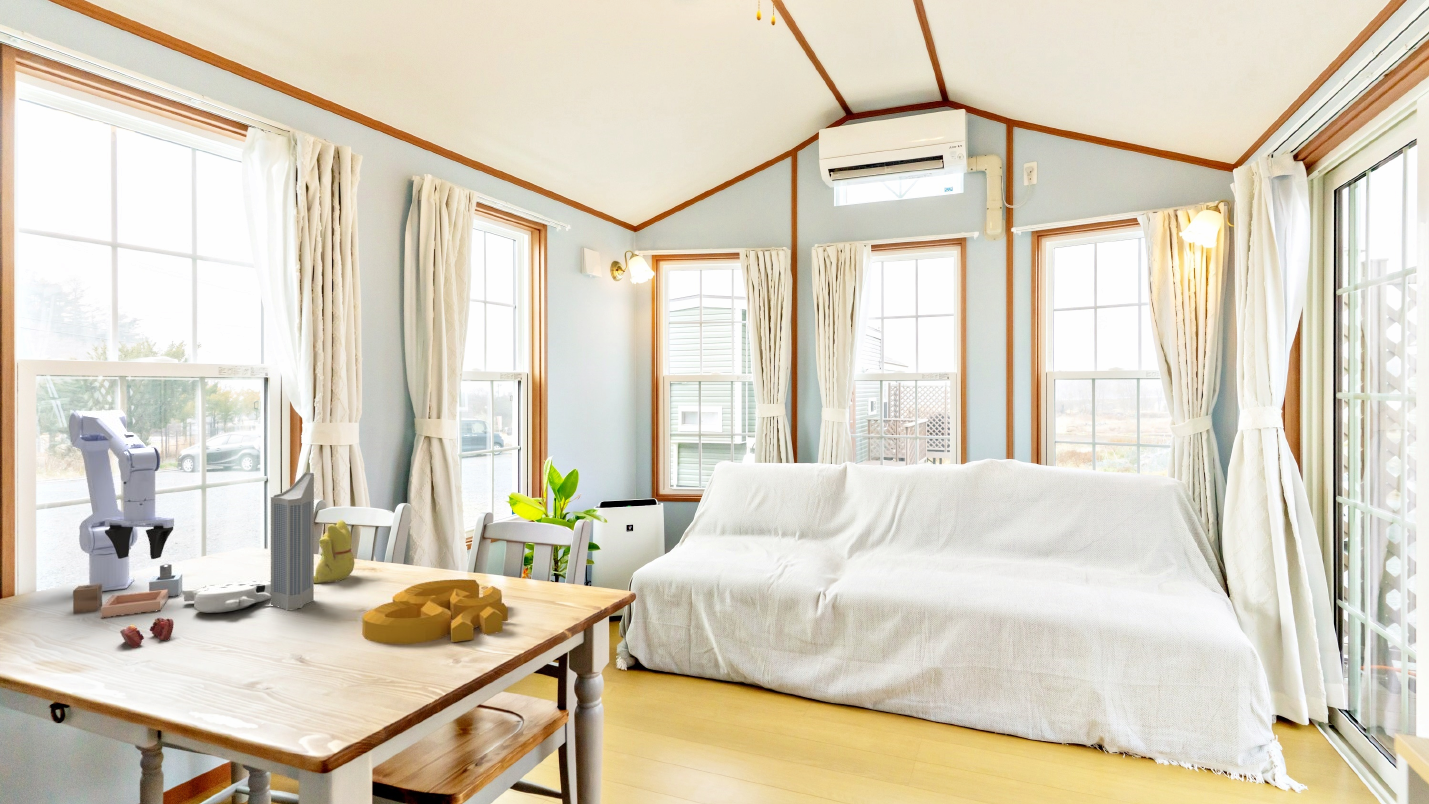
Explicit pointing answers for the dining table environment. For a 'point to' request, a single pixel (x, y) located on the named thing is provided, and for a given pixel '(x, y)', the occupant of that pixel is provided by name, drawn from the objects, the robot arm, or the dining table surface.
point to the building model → (293, 544)
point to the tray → (134, 603)
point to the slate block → (167, 584)
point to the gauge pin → (166, 572)
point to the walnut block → (87, 598)
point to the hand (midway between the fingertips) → (139, 557)
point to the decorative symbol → (436, 613)
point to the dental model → (159, 628)
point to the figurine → (335, 554)
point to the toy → (228, 596)
